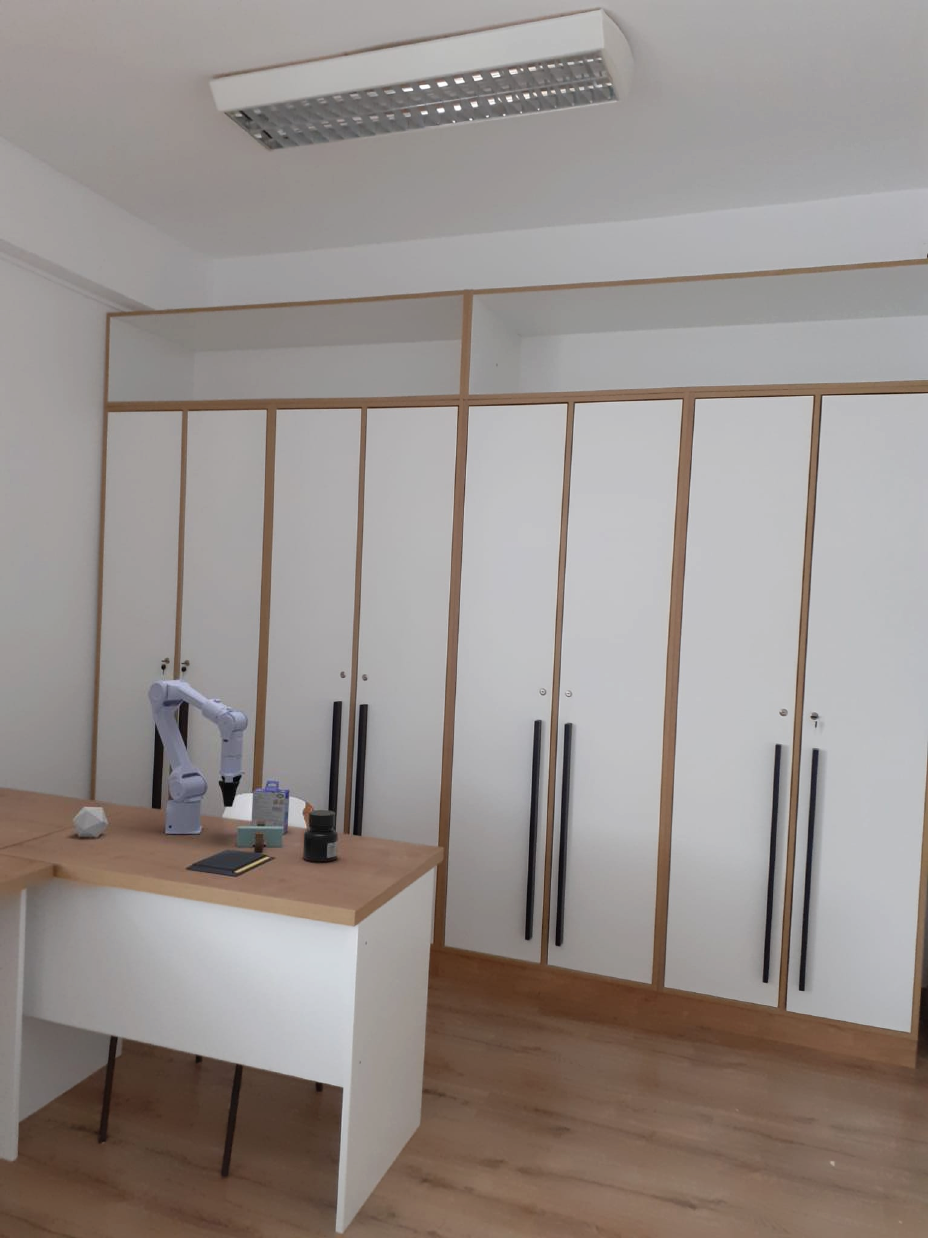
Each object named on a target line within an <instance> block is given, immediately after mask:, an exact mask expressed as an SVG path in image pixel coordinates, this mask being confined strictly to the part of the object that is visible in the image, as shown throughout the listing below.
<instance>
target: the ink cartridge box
mask: <svg viewBox="0 0 928 1238" xmlns="http://www.w3.org/2000/svg"><path fill="white" fill-rule="evenodd" d="M270 784H271V785H270ZM272 784H273V785H272ZM274 785H275V786H274ZM279 785H280V781H275V780H274V781H273V780H266V783H265V788H256V789H254V790H253V791H252V803H251V804H252V805H251V823H250V824H251V825H250V826H257V823H258V821H265V826H280V827H283V835H284V834H285V833H287V832H288V831H289V830H288V829H289V811H290V809H289V807H290V789H285V788H283V789H282V788H279V787H280V786H279Z"/></svg>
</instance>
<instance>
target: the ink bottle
mask: <svg viewBox="0 0 928 1238" xmlns="http://www.w3.org/2000/svg"><path fill="white" fill-rule="evenodd" d="M335 824H336V812H335V811H333V810H327V809H325V810H324V809H318V810H317V809H316V810H311V811H309V812H308V829H307V830H306V831H305V832H304V835H303V850H302V851H303V852H302V853H303V854H302V857H303V858H304V860H306V861H309V862H314V863H324V862H332V861H335V860H336V859H337V858H338V846H339V844H338V843H339V834H338V831H336V830H335V829H334V828H335Z"/></svg>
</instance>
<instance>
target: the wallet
mask: <svg viewBox="0 0 928 1238" xmlns="http://www.w3.org/2000/svg"><path fill="white" fill-rule="evenodd" d="M272 860H276V857H275V856H269V855H268V854H264V853H255V852H252V851H246V850H245V851H244V850H239V849H238V850H237V849H230V848H229V849H228V848H227V849H225V850H222V851H220V852H218V853H215V854H213V855H211V856H208V857H206V858H204V859H201V860H199V861H196V862H194V863H192V864H191V865H188V866H187V867H186V868H185V870H187V871H190V872H191V871H192V872H200V873H207V874H213V875H219V876H227V877H234V878H237V877H240V876H242V875H245V874H246V873H248V872H250V871H253V870H254V869H256V868H258V867H260V866H262V865H264V864H267V863H268V862H271V861H272Z"/></svg>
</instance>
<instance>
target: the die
mask: <svg viewBox="0 0 928 1238" xmlns="http://www.w3.org/2000/svg"><path fill="white" fill-rule="evenodd" d="M72 822H73V825H74V828H75V831H76V833H77V836H78V838H94V839H95V838H98V837H99V836H100V835H101V834H102V833H103V832H104V831H105V829H106V828H107V827H108V826H109V822H108V819H107V817H106V813H105V811H104V808H103V807H97V806H83V807H82V808H81V809H80V811H79V812H78V813H77V814H76V816H74V818H73V819H72Z"/></svg>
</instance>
